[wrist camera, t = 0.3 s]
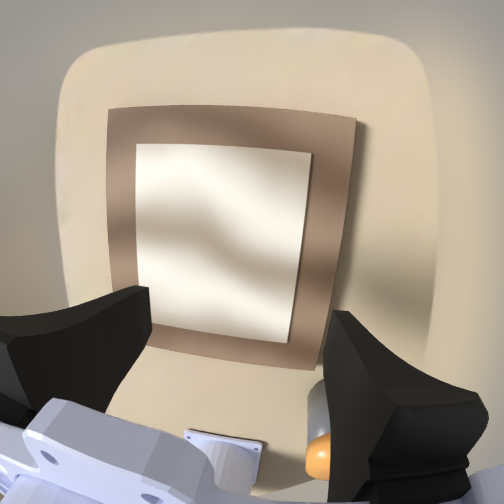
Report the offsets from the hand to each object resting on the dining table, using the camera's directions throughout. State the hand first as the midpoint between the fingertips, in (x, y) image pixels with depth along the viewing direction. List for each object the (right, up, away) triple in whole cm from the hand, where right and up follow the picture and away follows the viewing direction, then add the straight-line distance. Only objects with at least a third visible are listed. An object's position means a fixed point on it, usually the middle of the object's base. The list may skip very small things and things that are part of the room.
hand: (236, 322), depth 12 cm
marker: (+7, -9, +13) cm, 17 cm away
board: (-2, +3, +10) cm, 10 cm away
